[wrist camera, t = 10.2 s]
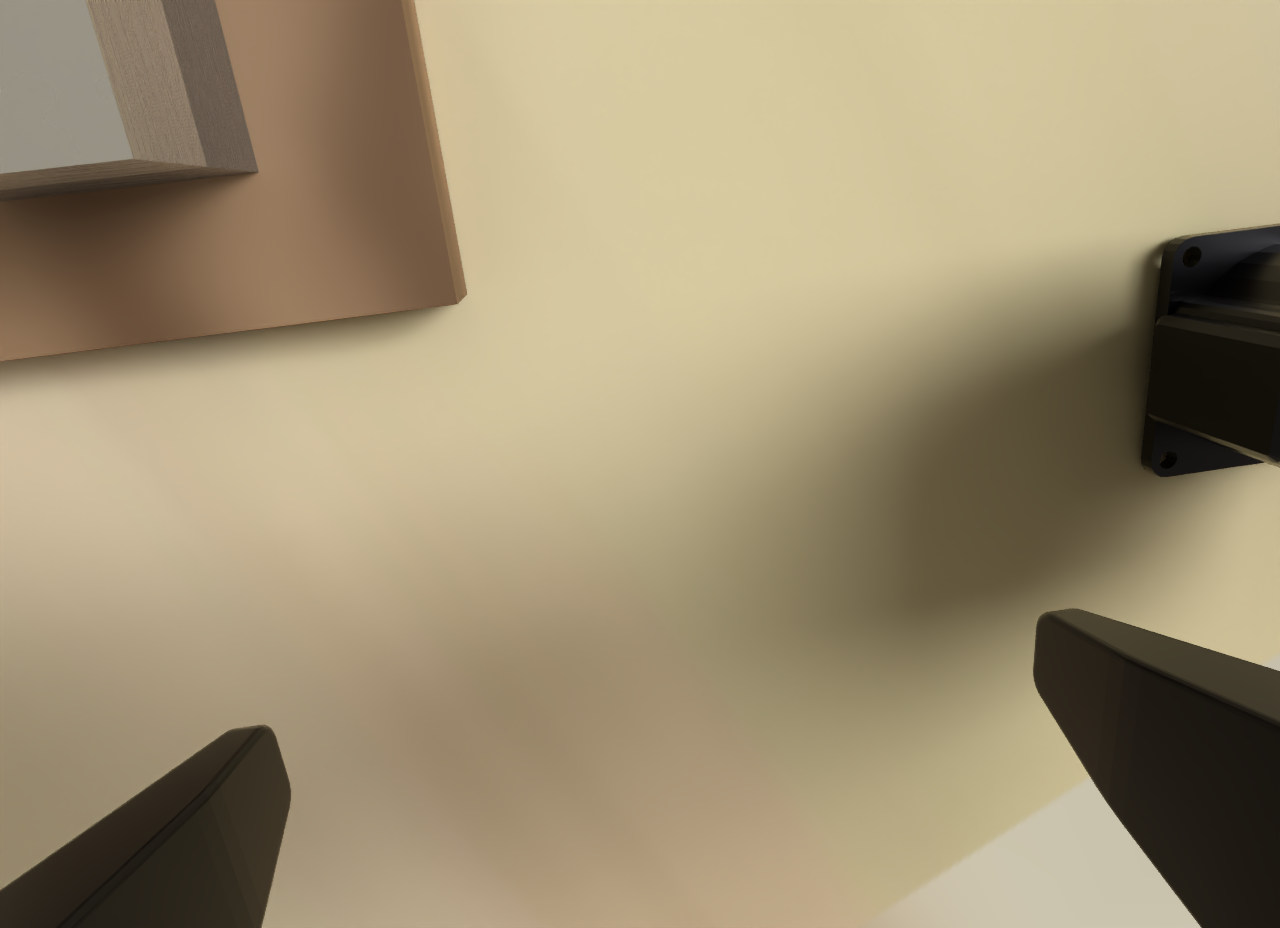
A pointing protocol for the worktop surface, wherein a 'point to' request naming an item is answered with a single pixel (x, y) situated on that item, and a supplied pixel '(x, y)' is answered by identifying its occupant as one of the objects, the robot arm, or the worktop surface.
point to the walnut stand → (257, 201)
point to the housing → (115, 96)
